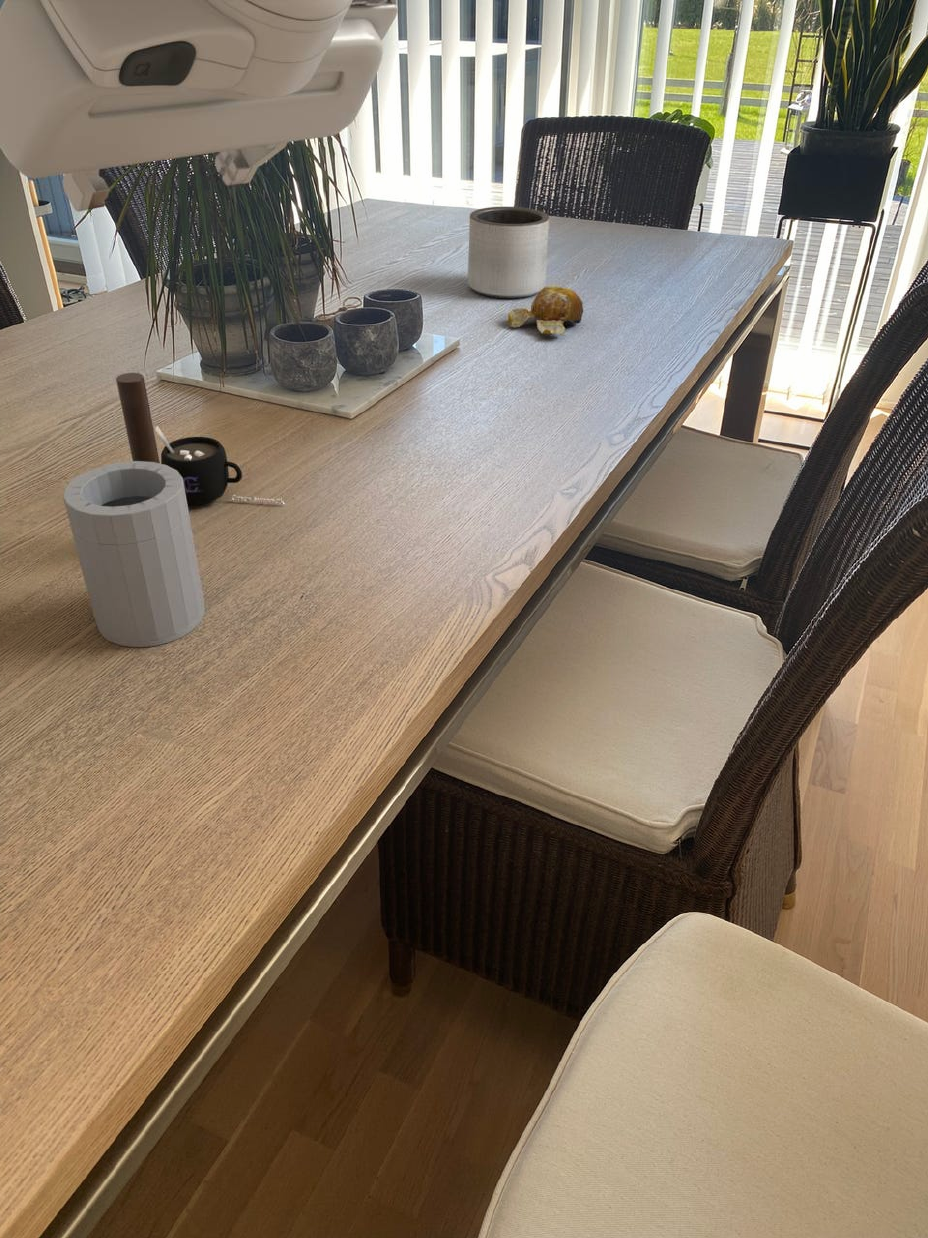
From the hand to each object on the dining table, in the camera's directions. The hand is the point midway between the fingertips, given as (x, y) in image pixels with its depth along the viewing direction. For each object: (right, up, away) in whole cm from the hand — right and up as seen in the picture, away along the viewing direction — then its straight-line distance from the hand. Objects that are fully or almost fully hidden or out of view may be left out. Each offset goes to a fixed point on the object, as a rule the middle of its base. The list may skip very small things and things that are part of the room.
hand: (160, 186), depth 53 cm
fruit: (+28, +15, +83) cm, 89 cm away
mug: (-7, -13, +41) cm, 44 cm away
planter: (+24, +29, +100) cm, 107 cm away
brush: (-11, -17, +34) cm, 40 cm away
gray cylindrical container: (-9, -24, +25) cm, 36 cm away
